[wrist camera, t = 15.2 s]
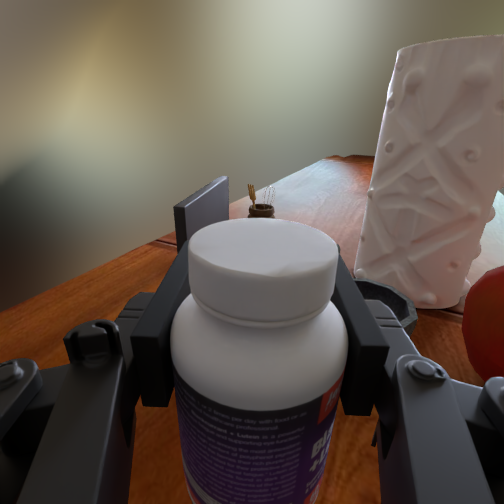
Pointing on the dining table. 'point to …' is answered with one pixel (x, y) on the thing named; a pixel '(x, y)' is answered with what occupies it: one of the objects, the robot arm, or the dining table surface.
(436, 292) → the vase
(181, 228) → the monitor screen
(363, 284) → the mortar and pestle
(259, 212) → the utensil holder
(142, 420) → the dining table surface
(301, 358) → the pill bottle
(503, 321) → the apple
